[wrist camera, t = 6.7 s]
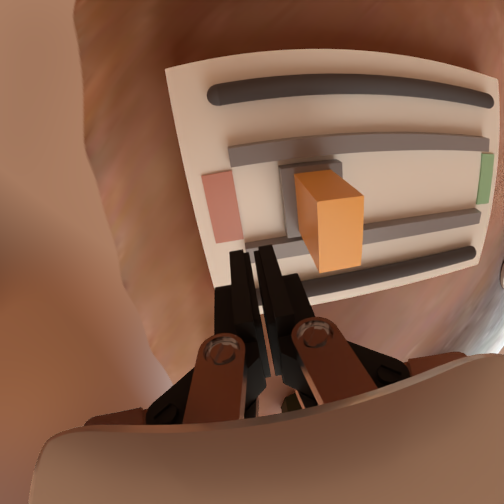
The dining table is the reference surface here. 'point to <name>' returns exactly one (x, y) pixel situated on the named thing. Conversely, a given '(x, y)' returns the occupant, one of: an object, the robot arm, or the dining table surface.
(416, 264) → the dressed cords
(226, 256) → the slider track board
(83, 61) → the dining table surface
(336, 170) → the handle
